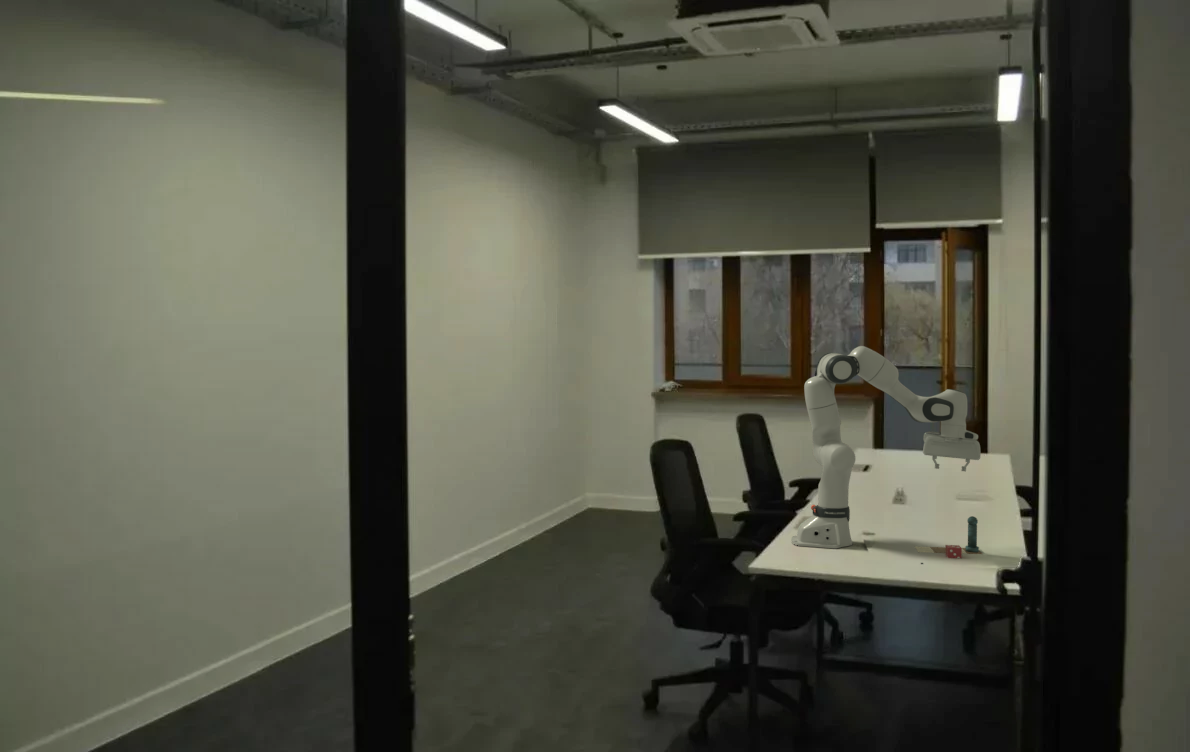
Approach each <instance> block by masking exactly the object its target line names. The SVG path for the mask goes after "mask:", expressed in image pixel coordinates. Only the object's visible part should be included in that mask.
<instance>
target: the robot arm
mask: <svg viewBox="0 0 1190 752" xmlns="http://www.w3.org/2000/svg"><path fill="white" fill-rule="evenodd" d="M856 376H859V377H861V379H863V380H864V381H865V382H866V383H868V384H870V385H872V386H873V387H875V388H876V389H878V390H880V391H882V392H884V393H886V394H887V395H888V396H889V397H890V398H892V399H893V400H895V401H896V402H897V403H898V404H899V405H901V406H902V407H903V408H904V409H905V410H906V412H907V414H908V416H909V417H910V418H911V419H912V420H913V421H914V422H917V423H919V424H920V423H921V424H922V423H924V424H925V423H938V422H940V431H932V430H929V431H926V432H925V433H923V436H922V437H923V439H922V440H923V450H922V453H923V455H924V456H931V457H932V461H933V463H934V469H936V470H937V469H938V470H940V463H938V462H937V459H938V457H940V458H941V457H942V458H951V459H961V460H965V464H964V466H961V472H966V471H967V466H969V464H970V463H971V460H972V461H979V460H980V459H981V445H980V442H979V440H978V439H979V434H977V433H975V432H972V431H971V430H967V422H966V419H967V416H968V397H967V394H966V393H965V392H963V391H962V390H957V389H952V388H947V389H945V391H942V392H940V393H937V394H935V395H931V396H921V395H918V394H916V393H914V392H912V390H911V389H909V388H908V387H906V386H905V385H904V384H902V383H901V381H900V380H899V378H900V377H899V369H898V367H897V366H896V365H895V364H893V363H892V361H890V360H889V359H888V358H886V357H885V356H884V355H882V354H880V353H878V352H877V351H875V350H874V349H871V348H869V347H867V346H864V345H859V346H857V347H855V348H853V349H852V351H850V353H849V354H847V355H846V354H842V353H839V352H838V353H837V352H828V353H826V354H823V355H822V356H821V357H820V358H819V360H818V362H817V364H816V368H815V372H814V375H813V376H812V377H810V378H808V379H807V380H806V381H805V383H804V386H803V387H804V388H803V389H804V390H803V391H804V399H805V405H806V410H807V414H808V419H809V422H810V426H811V435H812V437H811V438H812V455H813V458H814V459H815V461H816V462H817V464H818V465H820V466H822V471H821V472H822V473H821V477H820V481H819V483H818V486H817V487H818V488H817V489H818V490H817V492H818V493H817V495H818V497H817V502H818V504H817V505H815V504H812V505H811V506H810V509H811V510H812V515H810V516H809V517H808V518H807V519H806V520H804V521H802V522H801V523H800V525H799V526H798V528H797V531H796V532H797V533H796V535H794V536H792V537H791V541H792V542H791V541H790V542H791V544H793V545H794V544H795V545H794V546H797V545H798V546H797V547H810V548H822V549H823V548H824V549H840V548H843V547H849V546H852V545H853V540H852V537H851V531H850V530H851V529H850V519H851V511H850V510H851V509H850V505H849V487H850V485H849V484H850V479H851V476H852V475H851V474H852V470H853V467H854V466H855V464H856V454H855V452H854V451H853V449H852V448H851V447H850V446H849V445H848V444H847V443H845V442H843V441H842V438H841V436H842V435H841V425H842V419H841V417H840V416H841V415H840V413H839V412H840V411H839V407H838V403H837V400H836V396H835V387H836V385H843V384H845V383H848V382H849V381H851V380H852V379H853V378H855V377H856Z"/></svg>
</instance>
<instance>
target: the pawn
mask: <svg viewBox="0 0 1190 752" xmlns="http://www.w3.org/2000/svg"><path fill="white" fill-rule="evenodd" d="M978 521H979V520H978V518H977V517H976V516H969V517H968V518H967V545H966V546H965V548H966V551H967V552H979V550H980V547H979V546H978V543H977V542H978Z"/></svg>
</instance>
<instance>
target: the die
mask: <svg viewBox="0 0 1190 752" xmlns="http://www.w3.org/2000/svg"><path fill="white" fill-rule="evenodd" d="M945 547H946V553H945V557H947V558H948V559H962V556H963V554H962V548H963V547H961V546H960V545H959V544H956V545H955V544H954V545H953V544H945Z"/></svg>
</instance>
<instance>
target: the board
mask: <svg viewBox="0 0 1190 752" xmlns="http://www.w3.org/2000/svg"><path fill="white" fill-rule="evenodd" d="M914 548H915V549H916V551H917V552H918V553H927V554H928V553H932V554H946V546H945V547H944V546H943V547H942V546H941V547H939V546H917V545H916V546H914ZM961 548H962V555H963V554H964V555H984V553H983V552H982V551H981V550H980V549H979V552H967V551H966V547H961Z"/></svg>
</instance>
